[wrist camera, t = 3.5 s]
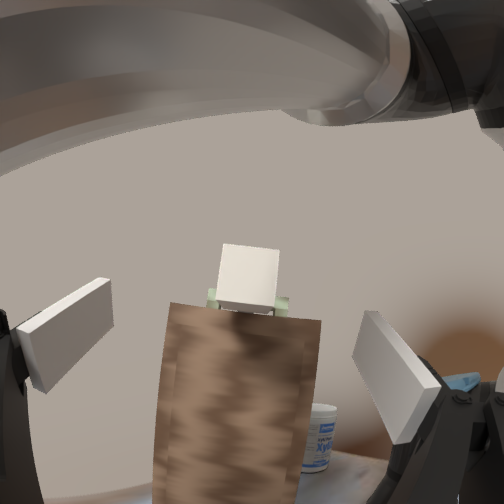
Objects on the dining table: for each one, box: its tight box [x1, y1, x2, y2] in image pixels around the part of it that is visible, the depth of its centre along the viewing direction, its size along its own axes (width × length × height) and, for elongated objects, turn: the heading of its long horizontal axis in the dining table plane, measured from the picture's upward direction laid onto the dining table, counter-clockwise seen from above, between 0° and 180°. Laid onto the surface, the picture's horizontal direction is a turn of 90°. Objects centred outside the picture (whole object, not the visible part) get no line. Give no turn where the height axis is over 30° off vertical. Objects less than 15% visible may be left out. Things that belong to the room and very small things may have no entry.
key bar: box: [215, 244, 280, 314], centre depth 28 cm, size 4×18×4 cm, turn 1°
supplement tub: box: [301, 403, 337, 473], centre depth 50 cm, size 10×10×15 cm
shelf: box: [152, 288, 321, 504], centre depth 30 cm, size 15×14×33 cm
